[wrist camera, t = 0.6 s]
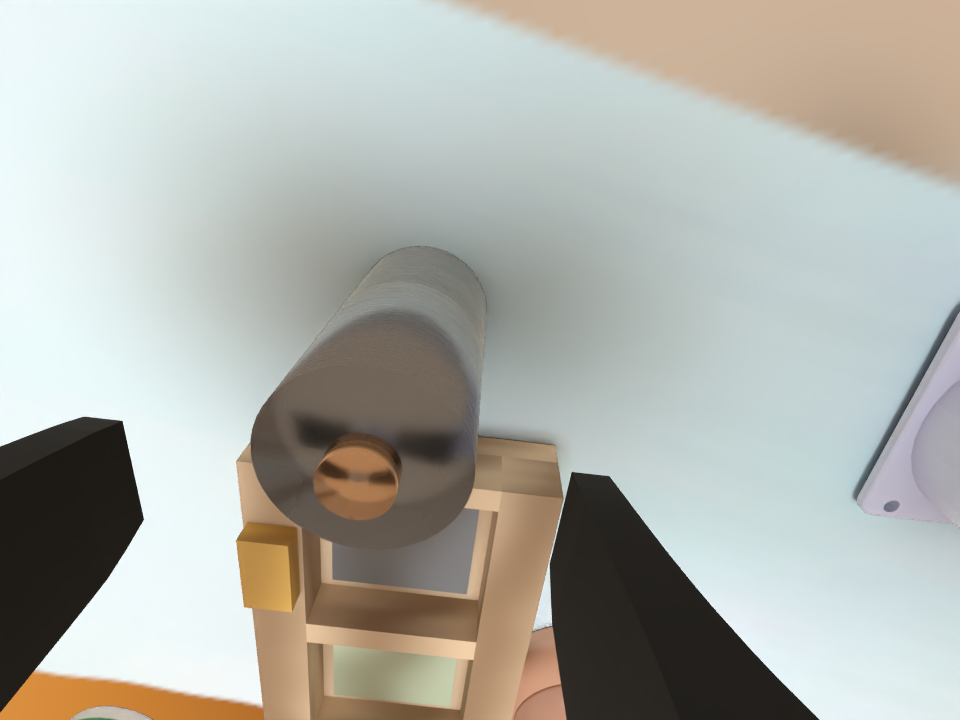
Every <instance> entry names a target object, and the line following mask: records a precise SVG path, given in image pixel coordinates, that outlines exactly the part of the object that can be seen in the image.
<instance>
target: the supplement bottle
mask: <svg viewBox="0 0 960 720" xmlns="http://www.w3.org/2000/svg"><path fill="white" fill-rule="evenodd" d="M71 720H153V719H152V718H150V717H148V716H146V715H144V714H142V713H139V712H136V711H133V710H130V709H126V708H121V707H115V706H98V707H94V708H90V709H86V710H84V711H82V712H79V713H78V714H76V715H75V716H74V717H73V718H72V719H71Z"/></svg>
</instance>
